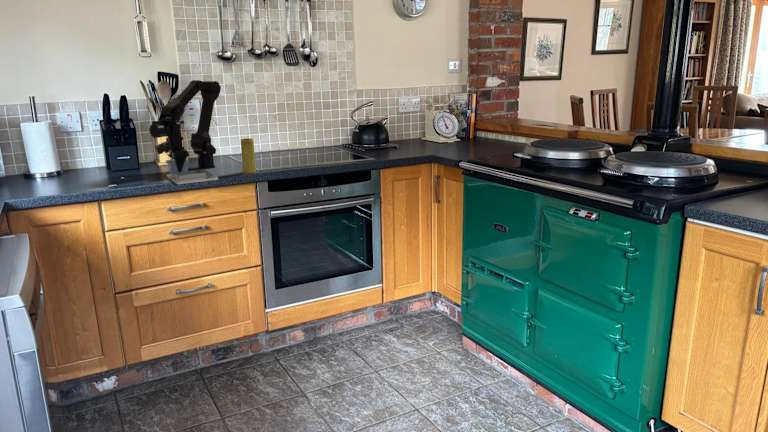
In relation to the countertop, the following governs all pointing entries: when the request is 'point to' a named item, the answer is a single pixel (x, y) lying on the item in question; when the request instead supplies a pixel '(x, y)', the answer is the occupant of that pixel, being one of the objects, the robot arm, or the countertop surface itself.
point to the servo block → (173, 166)
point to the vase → (248, 156)
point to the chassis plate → (191, 177)
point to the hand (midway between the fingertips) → (178, 171)
